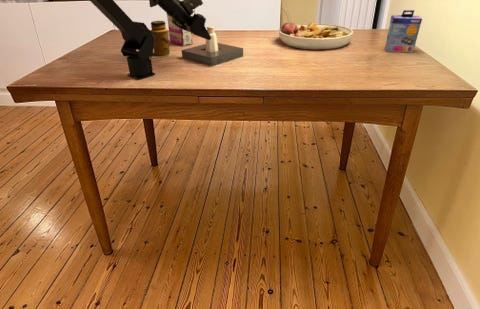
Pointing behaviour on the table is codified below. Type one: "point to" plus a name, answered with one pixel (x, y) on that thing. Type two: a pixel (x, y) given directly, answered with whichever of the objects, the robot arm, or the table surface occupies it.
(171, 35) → the candy bar box
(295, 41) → the bowl
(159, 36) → the condiment
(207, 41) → the pepper shaker
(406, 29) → the ink cartridge box
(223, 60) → the holder block
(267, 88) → the table surface
